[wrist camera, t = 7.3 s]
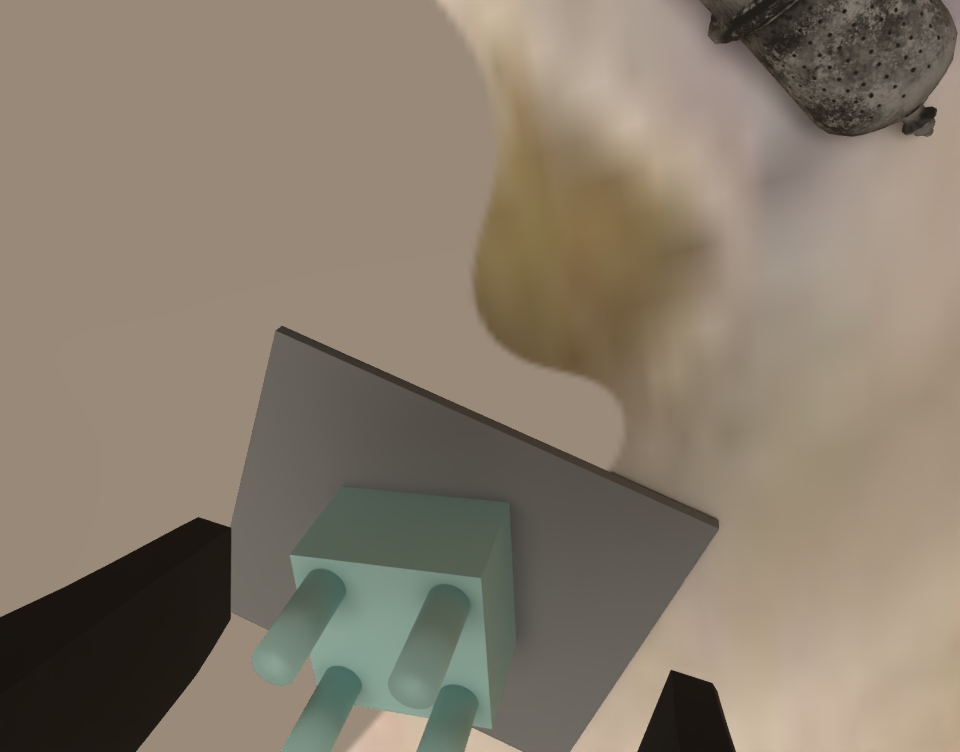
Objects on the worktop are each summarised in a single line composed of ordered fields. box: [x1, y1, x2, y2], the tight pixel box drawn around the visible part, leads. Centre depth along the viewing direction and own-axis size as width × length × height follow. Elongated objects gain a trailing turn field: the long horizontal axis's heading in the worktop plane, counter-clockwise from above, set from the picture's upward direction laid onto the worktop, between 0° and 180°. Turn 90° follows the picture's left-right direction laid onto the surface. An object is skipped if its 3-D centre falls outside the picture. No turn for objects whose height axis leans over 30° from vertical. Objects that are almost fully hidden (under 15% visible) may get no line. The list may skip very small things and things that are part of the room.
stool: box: [251, 486, 516, 752], centre depth 21 cm, size 6×6×6 cm
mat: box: [230, 326, 719, 752], centre depth 24 cm, size 14×12×1 cm
